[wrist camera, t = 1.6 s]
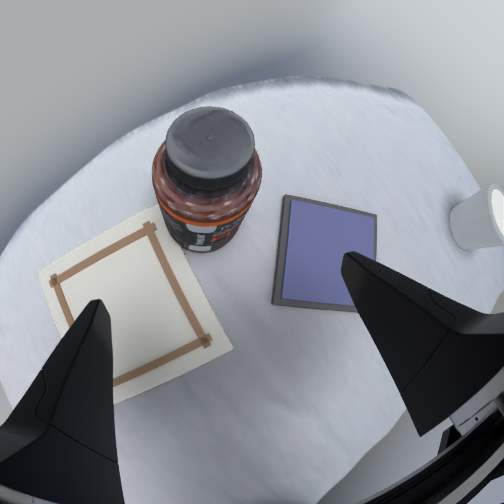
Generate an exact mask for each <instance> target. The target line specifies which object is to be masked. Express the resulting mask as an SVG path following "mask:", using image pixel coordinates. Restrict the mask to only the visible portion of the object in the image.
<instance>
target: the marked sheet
mask: <svg viewBox="0 0 504 504" xmlns="http://www.w3.org/2000/svg"><path fill="white" fill-rule="evenodd" d="M37 273H38V276H39V280H40V283H41V286H42V289H43V292H44V295H45V297H46V300H47V303H48V306H49V308H50V311H51V314H52V316H53V319H54V321H55V324H56V326H57V328H58V331H59V333H60V335H61V338H63V336H64V335H65V333H66V332H67V331H68V329H69V328H70V326H71V325H72V324H73V322H74V321H75V320H76V318H77V317H78V316H79V314H80V313H81V312H82V310H83V309H84V308H85V306H86V305H87V304H88V303H89V301H91V300H94V299H101V300H102V301H103V303H104V305H105V307H106V309H107V311H108V312H109V314H110V318H111V331H112V347H113V403H114V404H117V403H119V402H122V401H124V400H126V399H129V398H131V397H134V396H136V395H138V394H141V393H143V392H145V391H148V390H150V389H152V388H154V387H157V386H159V385H161V384H163V383H165V382H168V381H170V380H172V379H174V378H176V377H178V376H181V375H183V374H185V373H187V372H189V371H191V370H193V369H195V368H197V367H199V366H201V365H203V364H205V363H207V362H209V361H211V360H213V359H215V358H217V357H219V356H221V355H223V354H225V353H227V352H229V351H231V350H232V349H234V347H233V346H232V344H231V342H230V340H229V339H228V337H227V335H226V333H225V331H224V330H223V328H222V326H221V324H220V322H219V321H218V319H217V317H216V315H215V313H214V311H213V309H212V308H211V306H210V304H209V302H208V300H207V298H206V296H205V294H204V292H203V290H202V288H201V287H200V285H199V283H198V281H197V279H196V277H195V275H194V273H193V271H192V269H191V267H190V265H189V263H188V261H187V259H186V257H185V255H184V253H183V251H182V249H181V247H180V245H179V244H178V243H177V242H176V241H175V240H174V239H173V238H172V237H171V235H170V234H169V232H168V230H167V227H166V225H165V222H164V219H163V216H162V213H161V210H160V206H159V203H158V204H156V205H154V206H152V207H150V208H148V209H146V210H144V211H142V212H140V213H138V214H136V215H134V216H132V217H130V218H129V219H127V220H125V221H123V222H121V223H119V224H117V225H115V226H114V227H112V228H110V229H108V230H106V231H105V232H103V233H101V234H99V235H97V236H96V237H94V238H92V239H90V240H89V241H87V242H85V243H83V244H82V245H80V246H78V247H77V248H75V249H73V250H72V251H70V252H68V253H67V254H65V255H63V256H62V257H60V258H59V259H57V260H55V261H54V262H52V263H51V264H49V265H47V266H46V267H44V268H43V269H41V270H40V271H38V272H37Z"/></svg>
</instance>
